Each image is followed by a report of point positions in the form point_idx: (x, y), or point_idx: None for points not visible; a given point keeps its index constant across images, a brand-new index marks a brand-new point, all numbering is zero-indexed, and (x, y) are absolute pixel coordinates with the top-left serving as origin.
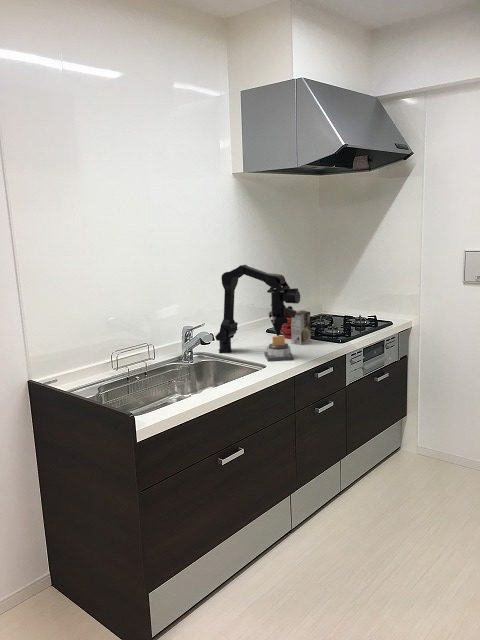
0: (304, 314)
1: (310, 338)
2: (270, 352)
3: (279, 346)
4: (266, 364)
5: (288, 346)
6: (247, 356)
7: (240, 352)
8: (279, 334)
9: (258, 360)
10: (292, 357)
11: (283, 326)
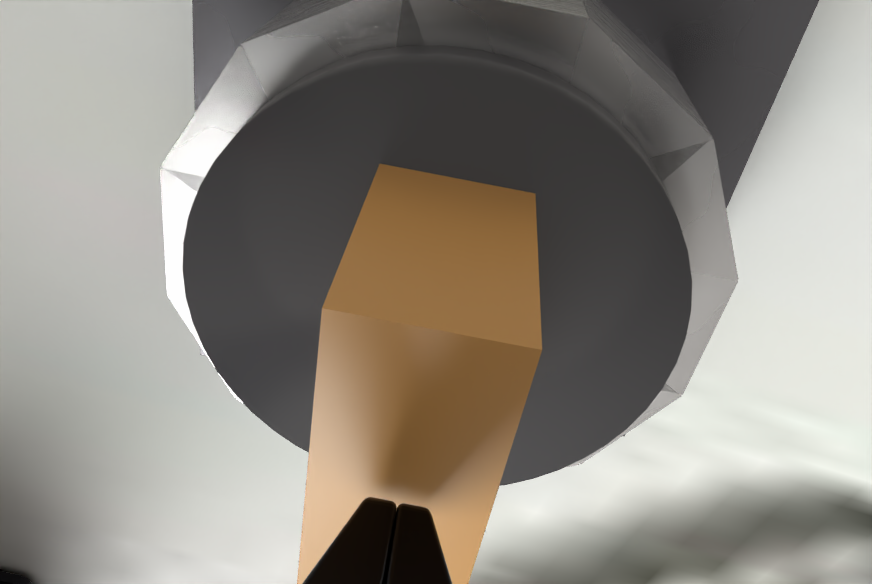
0: None
1: None
2: None
3: (612, 357)
4: (767, 461)
5: (495, 44)
6: (252, 509)
7: (30, 512)
8: (436, 543)
9: None
10: (806, 12)
11: None
